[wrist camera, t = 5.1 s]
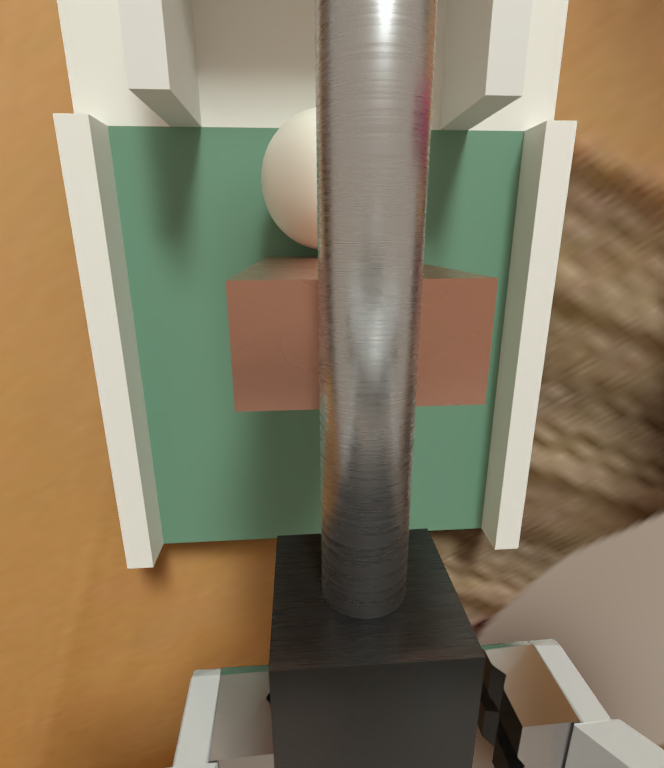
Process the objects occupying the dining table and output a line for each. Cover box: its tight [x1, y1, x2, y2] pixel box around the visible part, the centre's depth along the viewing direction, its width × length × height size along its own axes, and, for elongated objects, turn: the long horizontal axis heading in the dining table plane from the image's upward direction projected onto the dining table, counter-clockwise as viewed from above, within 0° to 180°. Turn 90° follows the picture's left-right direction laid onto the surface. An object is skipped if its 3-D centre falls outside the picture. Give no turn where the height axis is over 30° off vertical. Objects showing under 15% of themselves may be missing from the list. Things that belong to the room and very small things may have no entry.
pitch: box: [53, 0, 577, 569], centre depth 16 cm, size 22×16×6 cm
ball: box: [261, 107, 318, 249], centre depth 14 cm, size 4×4×4 cm
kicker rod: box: [226, 0, 498, 768], centre depth 10 cm, size 23×4×12 cm, turn 0°
